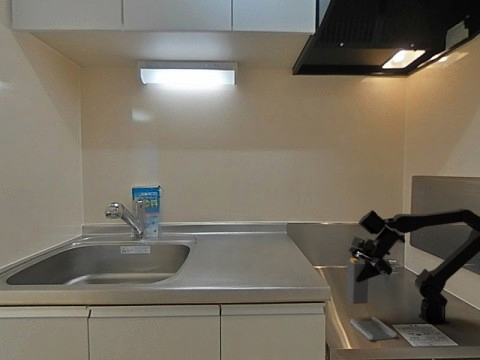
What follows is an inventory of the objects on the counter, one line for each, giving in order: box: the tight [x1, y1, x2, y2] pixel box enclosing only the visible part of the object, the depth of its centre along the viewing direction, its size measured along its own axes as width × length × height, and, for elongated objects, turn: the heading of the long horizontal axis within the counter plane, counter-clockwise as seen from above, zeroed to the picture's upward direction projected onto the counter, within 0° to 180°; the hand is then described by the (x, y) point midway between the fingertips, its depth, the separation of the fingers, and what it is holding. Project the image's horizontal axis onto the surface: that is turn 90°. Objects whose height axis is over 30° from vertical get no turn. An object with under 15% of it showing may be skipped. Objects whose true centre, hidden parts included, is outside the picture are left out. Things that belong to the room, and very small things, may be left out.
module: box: [345, 257, 369, 305], centre depth 108 cm, size 5×5×14 cm
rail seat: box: [349, 316, 397, 342], centre depth 100 cm, size 8×11×2 cm
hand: (353, 279), depth 108 cm, fingers closed on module, 5 cm apart
